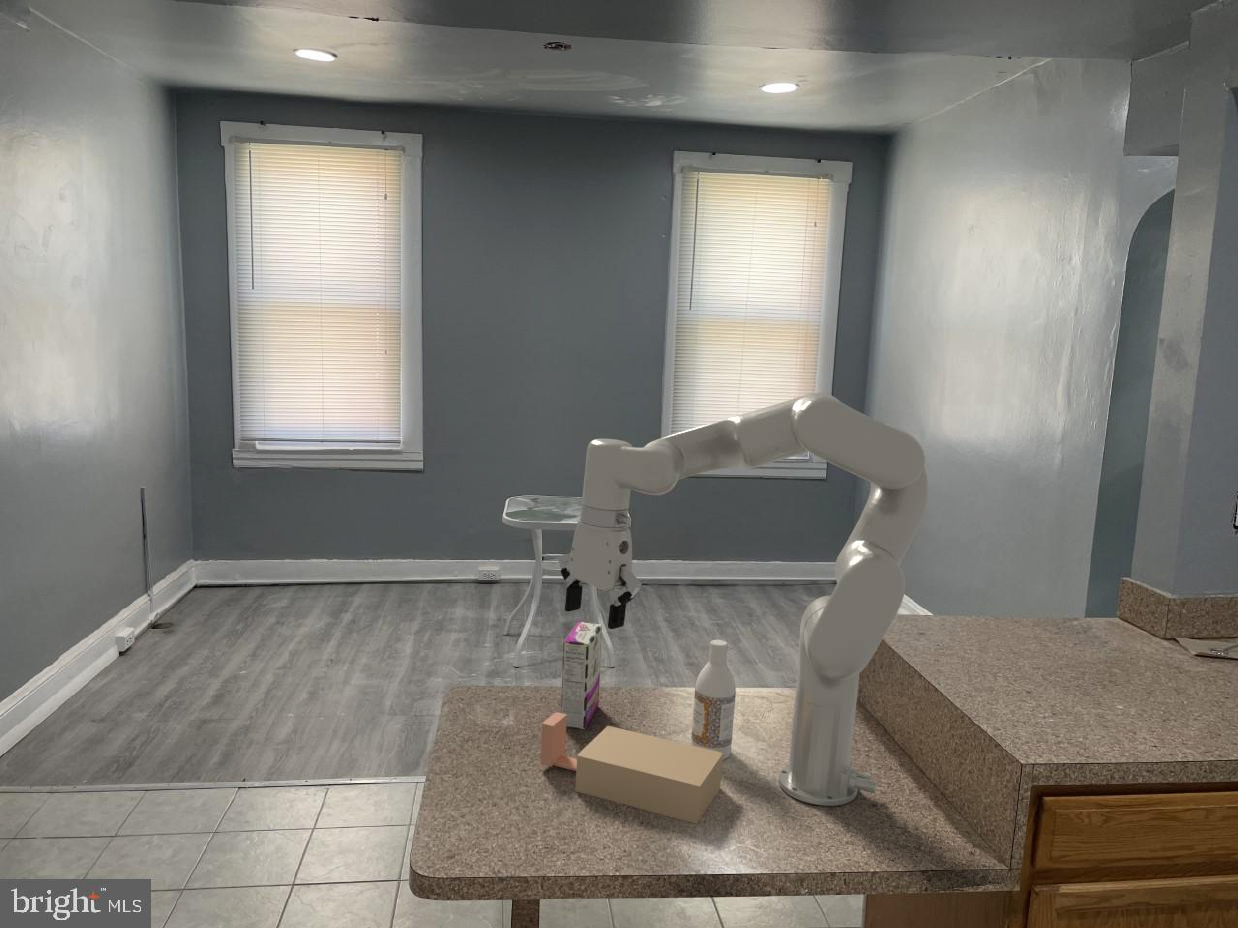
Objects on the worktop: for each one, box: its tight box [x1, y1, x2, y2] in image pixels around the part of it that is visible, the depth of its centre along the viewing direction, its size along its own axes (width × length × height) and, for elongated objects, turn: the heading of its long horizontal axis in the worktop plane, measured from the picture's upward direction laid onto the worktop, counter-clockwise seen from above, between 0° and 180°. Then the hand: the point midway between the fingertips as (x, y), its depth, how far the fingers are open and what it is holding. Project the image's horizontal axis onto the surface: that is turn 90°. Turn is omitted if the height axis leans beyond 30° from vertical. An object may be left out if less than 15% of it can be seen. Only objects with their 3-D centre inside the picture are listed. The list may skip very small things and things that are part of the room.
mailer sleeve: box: [574, 725, 723, 825], centre depth 147 cm, size 20×12×6 cm, turn 67°
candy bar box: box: [560, 621, 603, 730], centre depth 171 cm, size 11×5×16 cm, turn 168°
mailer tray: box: [539, 711, 577, 772], centre depth 148 cm, size 27×10×7 cm, turn 67°
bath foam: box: [690, 639, 737, 761], centre depth 159 cm, size 7×7×20 cm
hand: (593, 618), depth 152 cm, fingers open, 9 cm apart
